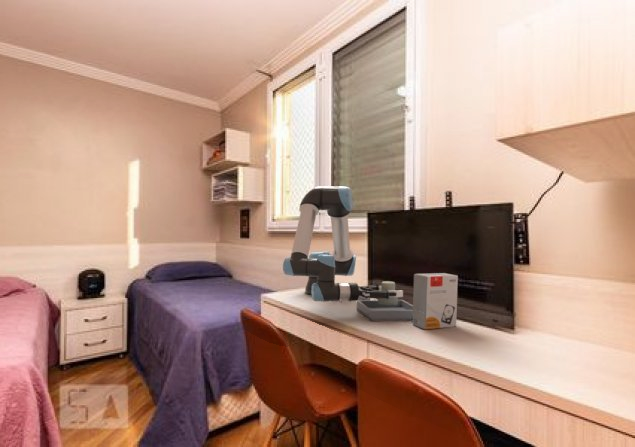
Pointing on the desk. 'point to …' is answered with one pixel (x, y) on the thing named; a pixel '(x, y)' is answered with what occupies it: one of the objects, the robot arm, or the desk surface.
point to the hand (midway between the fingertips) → (397, 291)
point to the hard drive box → (435, 300)
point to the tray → (385, 311)
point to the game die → (363, 298)
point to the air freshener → (392, 300)
